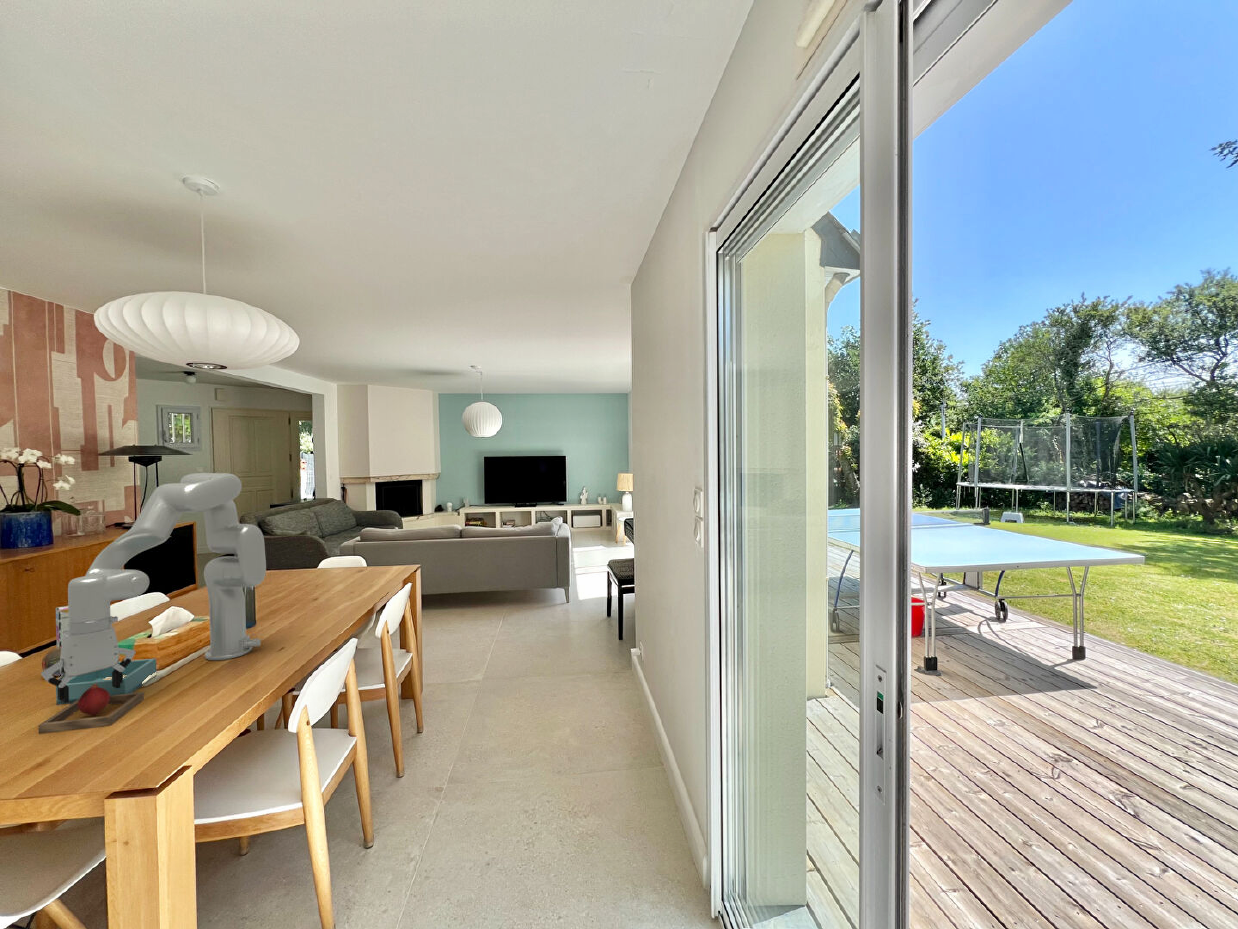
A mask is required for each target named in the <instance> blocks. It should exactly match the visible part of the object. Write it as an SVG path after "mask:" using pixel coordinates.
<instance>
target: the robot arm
mask: <svg viewBox="0 0 1238 929" xmlns="http://www.w3.org/2000/svg"><path fill="white" fill-rule="evenodd" d="M241 491H242V481H241V480H240V478H239V477H238V476H237V475H235V474H232V473H228V472H221V473H220V472H214V473H213V472H212V473H211V472H195V473H193V472H192V473H189V474H186V475H184V476H182V477H181V479H180V482H177V483H176V482H175V483H172V482H171V483H166V484H165V483H164V484H161V485H159V486H157V487H156V488H155V489H154V491H153V492H152V493H151V495H150V497H149V498H148V500H147V502H146V503H145V505H144V507H143V509H142V510H141V512H140V514H139V515H138V516H137V518H136V520H135V521H134V523H133V525H132V526H131V528H130V529H129V530H128V531H126V532H125V533H124V534H122V535H120V536H119V537H117V538H116V539H115V540H114V541H112V542H111V543H110V544H108V545H107V546H105V547H104V548H103V549H102V550H101V551H100V552H99V554H98V555H97V556H96V557H95V558H94V560H93V561H92V562H91V565H90V567H89V568H88V570H87V571H86V572H85V573H86V574H85V575H84V576H80V577H75V578H73V579H70V581H69V582H68V585H67V600H68V602H67V606H68V615H69V634H67V635H64V638H63V642H62V648H61V656H60V661H59V662H58V663H56V664H54V665H53V666H51V667H49V668H48V669H46V670H44V671H43V670H42V672H40V675H41V676H42V677H43V678H44V680H45V681H46V682H47V683H49V684H51V685H53V686H55V687H56V686H57V696H58V700H61V702H63V703H68V702H69V687H68V686H67V685H66V684H67V683H68V682H69V681H70V680H71V678H72V677H75V676H80V675H84V674H87V673H91V672H95V671H99V670H103V669H107V668H110V667H112V668H114V671H113V672H112V686H113V687H115V688H120V683H122V682H123V671H124V670H125V668H126V667H127V666H128V664H129V663H130V662H131V661H132V659H133V658H134V656H135V655H136V653H137V652H136V651H135V650H133V649H131V648H130V649H129V648H123V647H119V642H118V638H117V634H116V633H117V632H116V629H115V627H114V626H113V625H112V624H114V623H116V622H118V620H119V617H118V616H117V615H115V616H113V615H111V602H115V601H121V600H123V601H124V600H130V599H134V598H137V597H139V596H141V595H142V594H143V593H145V592H146V591H147V590H148V588H149V585H150V578H149V576H148V574H146V573H145V572H143V571H141V570H139V569H124V568H123V567H124V566H125V564H127V563H128V561H129V560H130V559H132V558H133V557H135V556H137V555H138V554H141V553H142V552H144V551H147V550H149V549H152V548H154V547H158V546H159V545H161V544H163V543H165V542H166V541H167V540H168V539H169V537H170V536H171V534H172V532H173V530H174V528H175V526H176V525H177V524H178V523H177V522H178V521H179V519H180V518H181V517H182V514H183V513H186V514H187V513H189V514H192V513H195V514H196V513H201V512H202V513H203V515H204V516H203V517H204V525H205V534H206V535H205V536H206V542H207V547H208V549H209V551H211V552H213V553H214V554H215V553H216V554H229V555H230V554H233V555H236V554H237V556H226V555H225V556H218V557H216V558H213V559H211V560H210V561H208V562H207V564H206V565H205V567H204V570H203V578H204V583H205V586H206V589H207V595H208V607H209V608H208V611H209V612H208V613H209V616H208V617H209V638H210V639H209V641H210V649H209V650H207V651H206V652H205V653H204V658H205V659H206V660H209V661H223V660H230V659H233V658H239V657H241V656H244V655H246V654H248V653H250V652H251V651H252V650H253V648H255V647H260V646H261V642H262V641H261V639H259V638H250V635H249V634H248V635H247V626H246V625H247V622H246V621H247V620H246V617H247V616H246V595H245V593H244V590H243V588H253V587H256V586H258V585H260V584H261V583H262V582H263V581H264V580H265V577H266V574H267V573H266V572H267V560H266V547H265V545H266V544H265V537H264V534H263V532H262V530H261V528H259V527H258V526H256V525H254V524H250V523H240V522H239V518H238V516H239V515H238V510H237V506H236V504H235V502H234V501H233V500H235V499H236V498H237V497H238V496H239V495H240V493H241ZM120 655H125V657H124V658H123V659H122V660H121V661H120ZM118 662H120V664H118ZM59 669H60V672H61V674H62V675H61V676H59V678H55V676H52V674H53V673H54V672H55V671H57V670H59Z"/></svg>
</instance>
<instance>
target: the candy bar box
mask: <svg viewBox="0 0 1238 929" xmlns="http://www.w3.org/2000/svg"><path fill="white" fill-rule="evenodd" d="M55 629H56V630H55V631H56V632H55V634H56V635H55V636H56V648H57V647H61V646H62V642H63V638H64V635H67V634H69V615H68V605H66V606H60V607H55Z"/></svg>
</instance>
